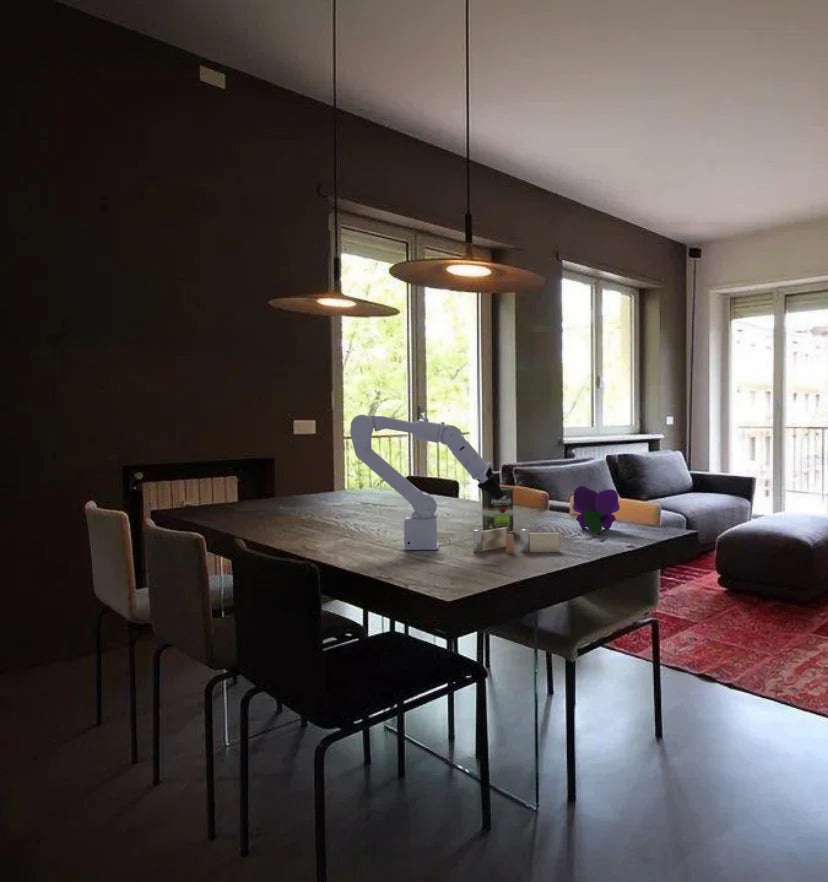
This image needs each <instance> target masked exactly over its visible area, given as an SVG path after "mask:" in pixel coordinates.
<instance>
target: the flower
mask: <svg viewBox="0 0 828 882" xmlns="http://www.w3.org/2000/svg"><path fill="white" fill-rule="evenodd" d="M572 499H573V505H572V509H573V511H574V512H577V513H579V514H578V515H577V516H576V518H575V521H577V522H578V524H579V526H580V529H581V528H585V527H588V528H587V529H588V530H589V531H590V532H591V533H592V534H596V535H599V536H601V535H602V534H604V533H605V532H606V531H608V530H610V529H611V527H612V525H613V523H614V522H615V521H616V520H617V519H616V516H615V515H614V513H617V512H619V511H620V509H621V508H620V503H619V495H618V492H617V490H614V489H604V490H602V491H599V492H598V493H597V492H596V491H595V490H592V489H590V488H588V487H587V486H584V485H582V486H578V487H577V488H576V489H574V493H573V498H572ZM604 528H605V529H604ZM609 528H610V529H609ZM602 529H603V530H602Z"/></svg>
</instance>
